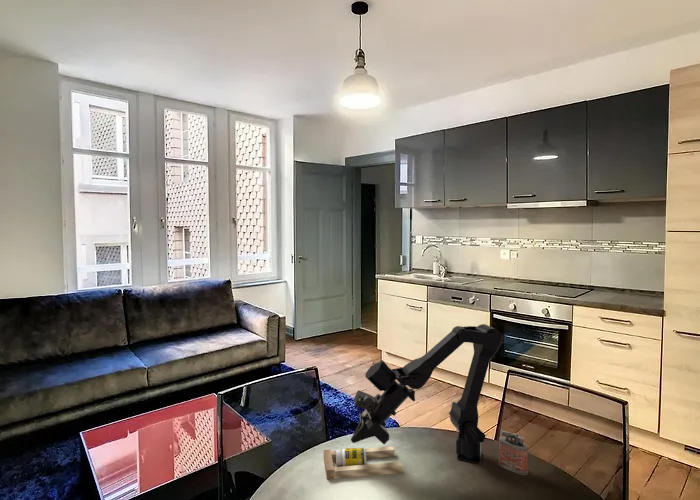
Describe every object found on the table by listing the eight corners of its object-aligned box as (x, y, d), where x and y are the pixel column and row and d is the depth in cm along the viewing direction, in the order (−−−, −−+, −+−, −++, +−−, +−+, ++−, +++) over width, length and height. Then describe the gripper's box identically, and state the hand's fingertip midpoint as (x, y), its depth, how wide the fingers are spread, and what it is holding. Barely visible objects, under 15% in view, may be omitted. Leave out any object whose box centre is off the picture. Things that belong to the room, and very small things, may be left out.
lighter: (529, 471, 115) (530, 436, 115) (525, 476, 112) (525, 440, 112) (501, 460, 120) (501, 427, 120) (496, 465, 118) (496, 431, 118)
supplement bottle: (366, 457, 115) (336, 458, 114) (366, 470, 117) (336, 471, 116) (365, 443, 119) (336, 444, 119) (364, 456, 121) (335, 457, 121)
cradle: (392, 452, 125) (392, 444, 125) (402, 472, 114) (402, 463, 114) (323, 458, 122) (323, 449, 122) (326, 479, 111) (326, 470, 111)
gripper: (364, 371, 127) (328, 409, 125) (377, 394, 108) (335, 439, 107) (389, 395, 128) (354, 432, 127) (406, 422, 110) (365, 466, 108)
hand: (351, 441), depth 117 cm, fingers closed
